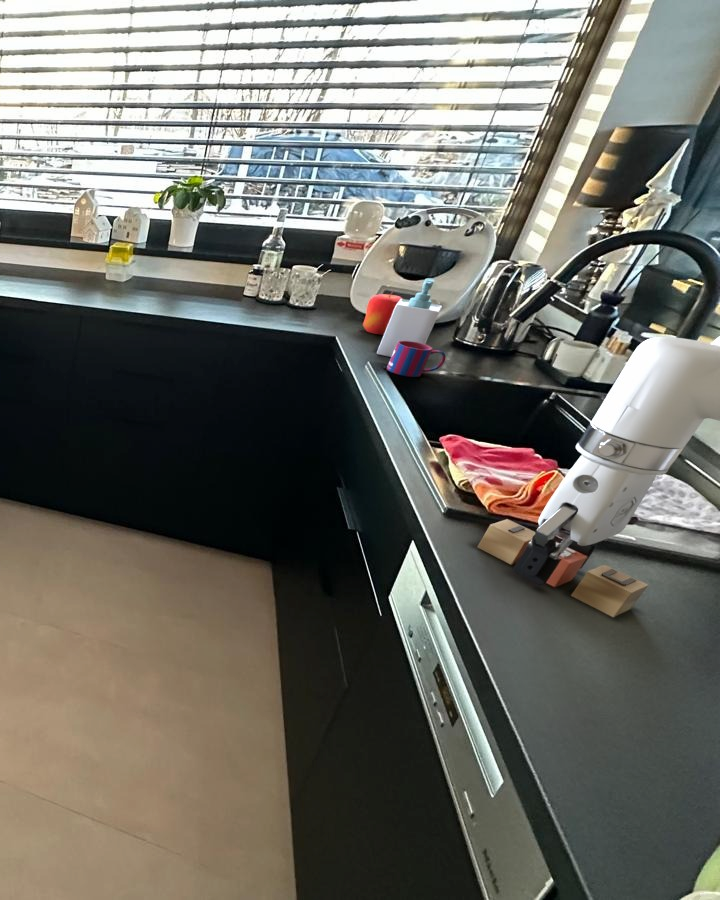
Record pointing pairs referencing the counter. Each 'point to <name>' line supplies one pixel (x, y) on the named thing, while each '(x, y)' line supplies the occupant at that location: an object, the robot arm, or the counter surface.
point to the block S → (566, 567)
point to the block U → (609, 590)
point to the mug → (412, 359)
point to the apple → (380, 312)
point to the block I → (506, 540)
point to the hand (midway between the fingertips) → (546, 569)
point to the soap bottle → (410, 320)
